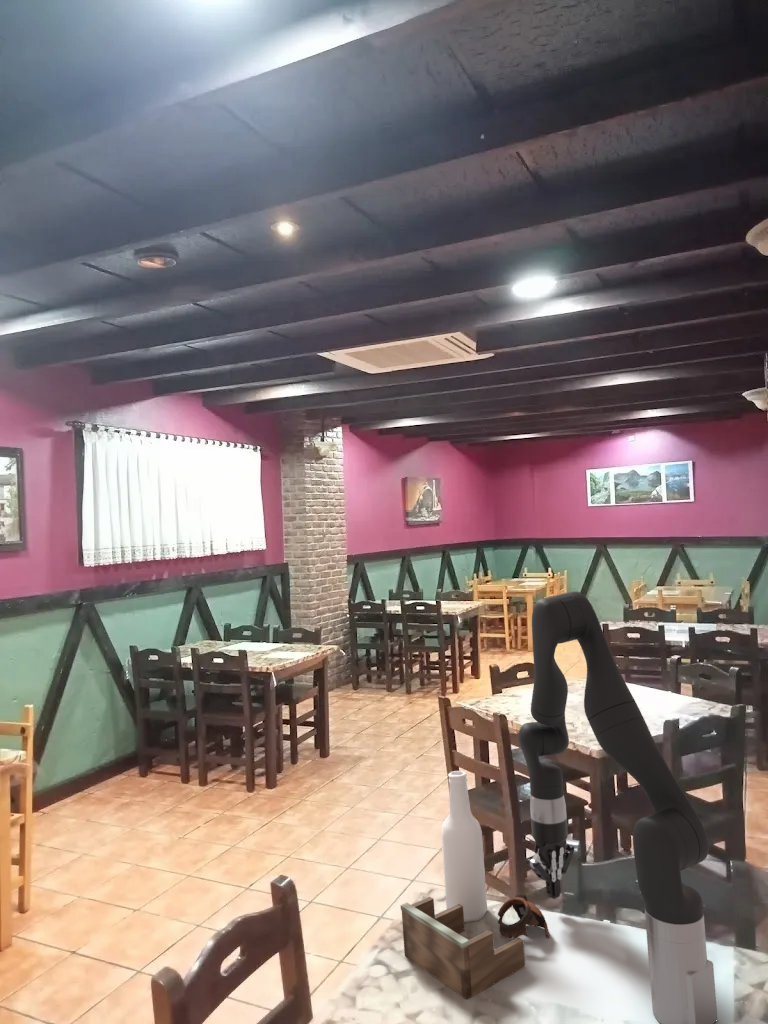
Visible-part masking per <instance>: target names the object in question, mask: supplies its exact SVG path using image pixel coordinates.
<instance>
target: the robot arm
mask: <svg viewBox="0 0 768 1024" xmlns="http://www.w3.org/2000/svg"><path fill="white" fill-rule="evenodd" d="M531 637H532V655H533V669H534V671H533V672H534V675H533V687H532V694H531V695H532V696H531V703H530V713H531V717H532V718H533V720H534V721H533V722H526V723H523V724H522V725H521V726H520V728H519V731H518V735H517V738H518V742H519V746H520V749H521V751H522V754H523V757H524V761H525V763H526V767H527V771H528V775H529V788H530V790H529V791H530V793H529V794H530V799H529V801H530V802H529V807H530V825H531V826H530V827H531V837H532V839H533V840H534V842H535V843H534V845H535V846H534V849H533V851H534V855H533V857H532V858H528V859H527V860H526V864H527V865H528V866H529V867H530V869H531V870H532V872H534V874H535V875H536V877H537V878H539V879H540V880H543V881H545V891H546V895H547V897H549V898H551V899H552V900H553V899H554V900H555V899H557V898H559V897H560V896H561V879H562V875H563V874H564V875H565V874H566V873H567V871H568V868H569V866H570V864H571V861H572V858H573V856H574V852H575V850H576V849H575V846H573V845H571V844H569V843H568V842H567V839H568V837H569V835H568V834H569V833H568V832H569V831H568V823H567V822H568V820H567V819H568V817H567V804H566V800H565V795H564V794H565V793H564V779H563V778H564V776H563V772H562V769H561V767H560V766H558V765H556V764H553V763H547V762H541V761H540V757H542V756H552V755H554V756H555V755H559V754H563V753H564V752H565V751H566V750H567V749H568V747H569V744H570V739H569V734H568V729H567V723H566V707H567V701H568V695H569V694H568V692H569V688H568V683H567V682H568V681H567V679H566V677H565V675H564V673H563V671H562V670H561V668H560V666H559V665H558V663H557V662H556V659H555V653H556V649H557V646H558V645H560V644H564V643H569V642H572V641H577V642H578V643H579V646H580V648H581V650H582V652H583V655H584V658H585V663H586V681H585V687H584V697H583V699H584V700H583V707H584V709H583V710H584V713H585V716H586V719H587V722H588V723H589V726H590V728H591V730H592V732H593V734H594V736H595V738H596V741H597V743H598V745H599V746H600V747H601V749H602V750H603V751H604V752H605V754H607V755H608V756H609V758H610V759H611V760H613V761H614V762H615V763H616V764H617V765H618V766H620V767H621V768H622V769H623V770H624V771H625V772H626V773H628V774H629V775H630V776H631V777H632V778H633V779H634V780H635V782H637V783H638V784H639V786H640V787H641V789H642V790H643V792H644V793H645V795H646V797H647V798H648V800H649V802H650V804H651V806H652V808H653V811H654V812H655V813H651V814H649V815H646V816H643V817H641V818H639V819H638V820H637V821H636V822H635V824H634V827H633V831H632V847H633V848H632V849H633V855H634V863H635V871H636V878H637V879H636V880H637V884H638V889H639V891H640V894H641V896H642V900H643V903H644V917H645V930H646V944H647V954H648V955H647V956H648V957H647V958H648V969H649V982H650V993H651V1008H652V1014H653V1016H654V1018H655V1019H656V1021H658V1022H659V1023H660V1024H713V1023H714V1022H715V1021H716V1020H717V1019H719V1017H718V1007H717V997H716V996H717V995H716V982H715V981H716V980H715V971H714V963H713V961H711V960H709V959H708V954H707V941H706V940H707V938H706V928H705V927H706V926H705V915H704V902H703V898H702V896H701V894H700V892H699V891H698V890H696V889H695V888H693V887H691V886H690V885H688V884H685V883H682V875H681V874H682V873H681V871H683V870H685V869H688V868H691V867H694V866H696V865H698V864H700V863H702V862H704V861H706V859H707V857H708V856H709V855H708V854H709V851H710V842H709V839H708V838H709V837H708V834H707V831H706V829H705V827H704V824H703V822H702V821H701V819H700V817H699V815H698V813H697V812H696V810H695V808H694V807H693V805H692V804H691V802H690V801H689V799H688V797H687V796H686V794H685V793H684V791H683V789H682V788H681V785H679V783H678V781H677V780H676V778H675V775H673V773H672V771H671V769H670V767H669V766H668V764H667V761H666V760H665V758H664V756H663V754H662V753H661V751H660V749H659V748H660V747H658V745H657V743H656V740H655V739H654V737H653V735H652V733H651V731H650V729H649V726H648V725H647V722H646V720H645V717H644V716H643V714H642V712H641V709H640V708H639V705H638V704H637V702H636V699H635V698H634V696H633V694H632V692H631V690H630V689H629V687H628V685H627V683H626V681H625V679H624V677H623V675H622V673H621V671H620V669H619V666H618V665H617V663H616V662H617V661H615V658H614V656H613V654H612V651H611V649H610V647H609V644H608V641H607V639H606V637H605V633H604V631H603V629H602V626H601V624H600V620H599V618H598V615H597V613H596V611H595V609H594V607H593V605H592V603H591V602H590V600H589V599H588V597H586V595H584V594H583V593H582V592H580V591H569V592H564V593H562V594H561V593H560V594H555V595H550V596H548V597H543V598H541V599H539V600H537V601H536V602H535V604H534V606H533V609H532V614H531ZM565 854H566V855H565ZM716 1022H717V1021H716ZM716 1022H715V1023H716ZM715 1023H714V1024H715Z"/></svg>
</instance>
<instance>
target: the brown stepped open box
mask: <svg viewBox="0 0 768 1024" xmlns="http://www.w3.org/2000/svg"><path fill="white" fill-rule="evenodd" d="M399 907H400V911H401V919H402V921H401V922H402V923H401V924H402V934H403V935H402V936H403V950H404V952H403V953H404V956H405V957H406V958H407V959H409V960H410V961H412V962H413V963H414V964H416V965H418V966H419V967H420V968H422V969H423V970H425V971H426V972H427V973H429V974H430V975H432V976H433V977H434V978H436V979H438V980H439V982H442V983H443V984H445V985H446V986H447V987H449V988H450V989H451V990H453V991H454V992H456V993H457V994H459V995H460V996H462V998H464V999H466V1000H468V999H470V998H472V997H474V996H476V995H477V994H480V992H483V991H484V990H487V989H488V988H490V987H492V986H493V985H495V984H498V982H500V981H502V980H504V979H506V978H507V977H509V976H511V975H513V974H516V972H518V971H520V970H522V969H523V968H525V967H526V959H525V957H526V956H525V946H524V945H525V943H524V939H523V938H521V937H520V936H519V937H516V938H514V939H513V940H510V941H509V942H507V943H504V944H503V945H501V946H500V947H498V948H495V943H494V933H493V932H492V931H491V930H489V929H488V930H486V931H484V932H482V933H480V934H478V935H476V936H474V937H472V938H470V939H468V938H466V937H464V936H463V935H461V934H460V933H462V932H464V931H465V928H466V927H465V922H464V914H463V906H462V905H460V904H458V905H455V906H453V907H451V908H449V909H447V908H446V909H445V910H442V911H440V912H438V913H436V914H435V901H434V898H433V897H431V896H428V897H426V898H424V899H421V900H419V901H417V902H415V903H412V904H411V903H408V902H405V903H403V904H400V906H399Z"/></svg>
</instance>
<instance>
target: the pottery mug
mask: <svg viewBox="0 0 768 1024" xmlns="http://www.w3.org/2000/svg"><path fill="white" fill-rule="evenodd" d="M510 908H513V909H514V912H515V913H517V917H518V918H519V919H518V920H517V921H516V922H514V923H512V924H511V923H510V924H506V923H504V922H503V918H504V916H505V914H506V912H508V910H509V909H510ZM497 915H498V916H497V917H499V918H498V920H497V923H498V930H499V931H498V932H499V934H500V936H501V937H502V938H503V937H504V938H507V939H513V938H514V939H516V938H518V937H519V938H520V937H521V936H524V937H526V938H527V937H529V934H528V930H527V926H529V927H533V926H534V927H536V928H537V927H539V928H543V931H544V933H545V936H546V938H547V940H549V939H550V935H551V934H550V930H549V928H548V923H547V921H546V918H545V916H544V914H543V913H542V911H541V909H540V908H539V907H538V906H536V905H535V904H534V903H532V902H530V901H528V898H527V896H526V894H524V893H523V892H519V893H516V895H515V896H514V897H512V898H510V899H508V900H506V902H504V903H503V904H502V905H501V906H500V908H499V910H498V912H497Z"/></svg>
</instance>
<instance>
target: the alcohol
mask: <svg viewBox="0 0 768 1024" xmlns="http://www.w3.org/2000/svg"><path fill="white" fill-rule="evenodd" d="M447 775H448V783H449V784H448V785H449V789H448V790H449V791H448V792H449V794H448V795H449V800H448V801H449V803H448V808H449V810H448V816H447V817H446V819H445V820H444V822H443V823H442V826H441V833H440V834H441V849H442V865H443V876H444V891H445V892H444V893H445V894H444V895H445V905H446V906H445V908H446V910H447V909H449V908H451V907H453V906H455V905H458V904H460V905H462V906H463V914H464V923H471V922H470V921H472V922H476V921H478V920H481V919H483V917H484V916H485V915H486V913H487V911H488V901H487V885H486V874H485V872H486V870H485V857H484V846H483V845H484V843H483V832H482V828H481V824H480V822H479V821H478V819H476V817H475V816H474V815H473V813H472V811H471V810H472V809H471V804H470V798H469V797H470V796H469V790H468V783H467V782H468V779H467V773H466V772H465V771H462V770H454V771H453V770H452V771H450V772H449V773H448V774H447ZM466 921H467V922H466Z"/></svg>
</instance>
